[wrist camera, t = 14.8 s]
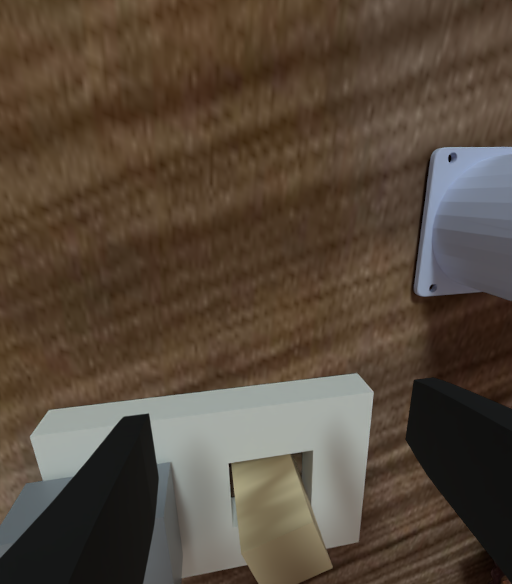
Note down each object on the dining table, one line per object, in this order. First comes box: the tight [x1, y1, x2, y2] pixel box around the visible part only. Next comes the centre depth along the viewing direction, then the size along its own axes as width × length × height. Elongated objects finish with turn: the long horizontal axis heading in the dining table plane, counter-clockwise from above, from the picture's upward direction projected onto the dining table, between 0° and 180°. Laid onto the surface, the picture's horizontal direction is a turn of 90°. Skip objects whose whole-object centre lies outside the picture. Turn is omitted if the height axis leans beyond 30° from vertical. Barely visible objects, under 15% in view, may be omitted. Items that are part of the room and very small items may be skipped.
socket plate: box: [30, 373, 374, 578], centre depth 19 cm, size 18×12×2 cm, turn 92°
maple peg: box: [231, 454, 333, 584], centre depth 18 cm, size 4×4×6 cm
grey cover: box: [0, 462, 183, 584], centre depth 16 cm, size 7×7×3 cm
